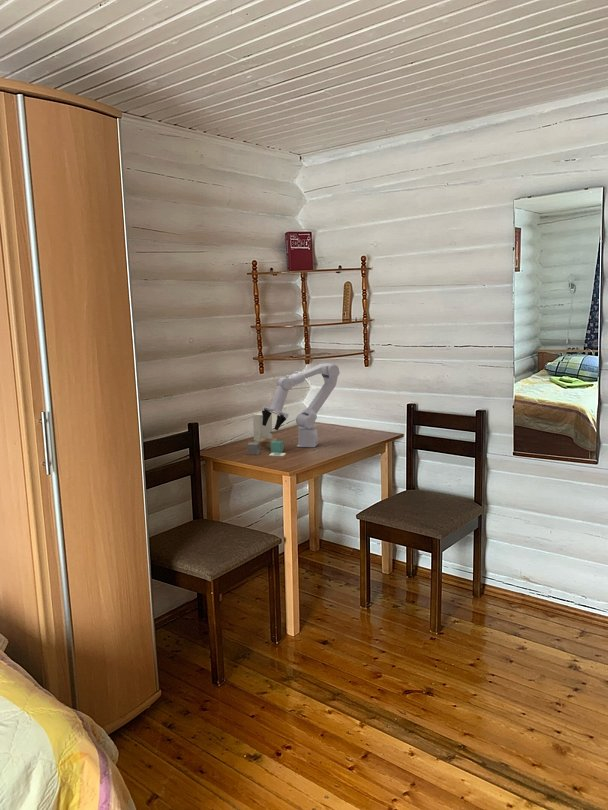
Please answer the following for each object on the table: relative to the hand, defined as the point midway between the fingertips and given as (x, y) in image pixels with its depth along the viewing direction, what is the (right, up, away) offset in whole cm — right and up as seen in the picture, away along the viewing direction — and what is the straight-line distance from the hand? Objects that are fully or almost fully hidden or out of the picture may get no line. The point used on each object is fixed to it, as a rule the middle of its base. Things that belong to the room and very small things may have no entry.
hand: (269, 427), depth 319 cm
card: (+4, -12, -8) cm, 15 cm away
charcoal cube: (-7, -12, -4) cm, 15 cm away
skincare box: (-5, -8, +21) cm, 23 cm away
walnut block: (-1, -10, +9) cm, 13 cm away
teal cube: (+4, -11, -1) cm, 12 cm away
